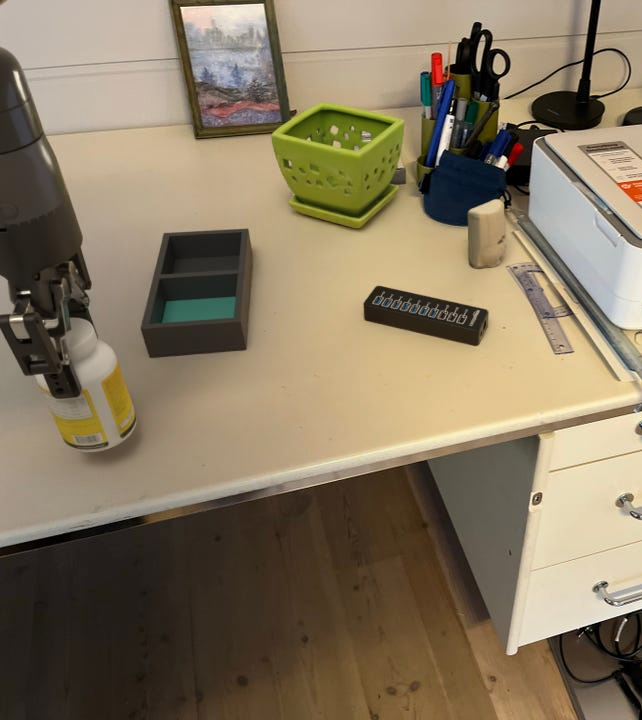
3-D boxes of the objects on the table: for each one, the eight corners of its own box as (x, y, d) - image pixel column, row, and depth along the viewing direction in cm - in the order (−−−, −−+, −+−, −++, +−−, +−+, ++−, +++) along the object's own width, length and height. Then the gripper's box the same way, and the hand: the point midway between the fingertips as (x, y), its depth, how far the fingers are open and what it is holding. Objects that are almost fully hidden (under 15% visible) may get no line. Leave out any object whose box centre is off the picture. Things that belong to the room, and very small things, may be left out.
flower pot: (364, 241, 104) (359, 155, 96) (278, 218, 107) (265, 133, 99) (409, 197, 114) (407, 116, 106) (328, 178, 117) (321, 98, 109)
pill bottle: (134, 400, 74) (101, 304, 67) (142, 443, 70) (109, 345, 62) (61, 418, 72) (19, 320, 64) (65, 464, 67) (21, 365, 60)
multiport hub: (377, 299, 93) (376, 284, 92) (488, 324, 91) (489, 309, 89) (362, 319, 90) (361, 304, 89) (477, 346, 87) (478, 330, 86)
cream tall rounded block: (471, 245, 104) (473, 193, 99) (508, 250, 104) (512, 198, 99) (463, 267, 100) (465, 214, 95) (502, 272, 99) (506, 219, 94)
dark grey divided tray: (246, 350, 85) (240, 321, 82) (149, 358, 83) (140, 328, 80) (252, 255, 100) (248, 228, 97) (170, 260, 98) (163, 232, 95)
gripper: (-16, 156, 60) (51, 323, 71) (-83, 250, 49) (7, 430, 60) (85, 152, 61) (135, 317, 72) (41, 243, 51) (108, 421, 61)
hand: (77, 368), depth 66 cm, fingers closed on pill bottle, 6 cm apart
